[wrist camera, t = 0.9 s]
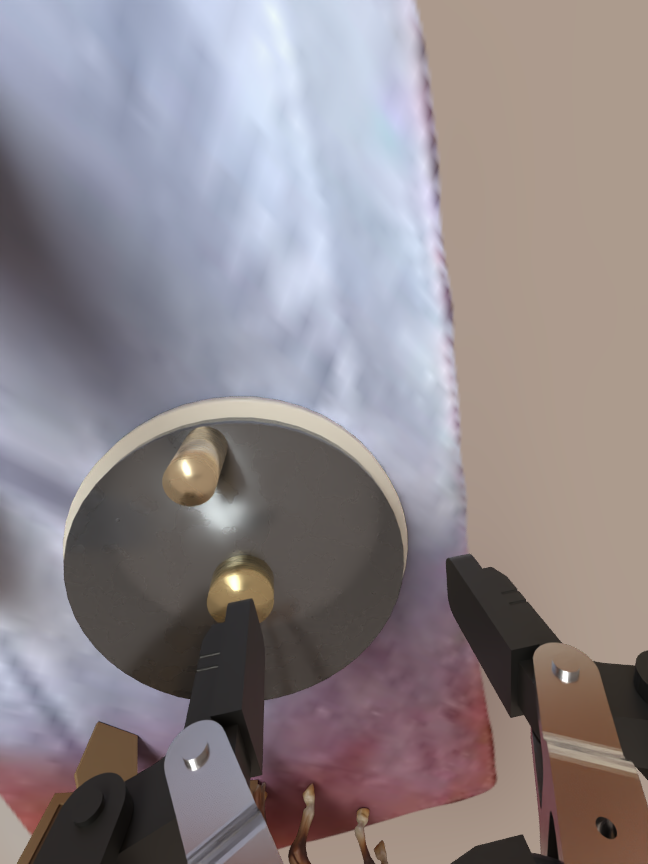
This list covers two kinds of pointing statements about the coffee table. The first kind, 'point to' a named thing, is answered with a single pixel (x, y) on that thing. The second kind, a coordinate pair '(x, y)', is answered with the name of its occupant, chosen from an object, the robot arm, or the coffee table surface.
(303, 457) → the handwheel
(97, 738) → the photo frame
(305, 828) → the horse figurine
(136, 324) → the coffee table surface
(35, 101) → the coffee table surface
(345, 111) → the coffee table surface
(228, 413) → the base plate
